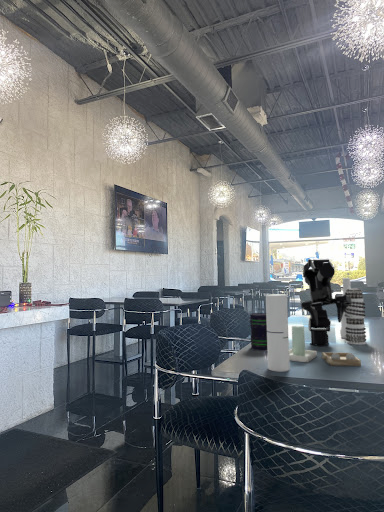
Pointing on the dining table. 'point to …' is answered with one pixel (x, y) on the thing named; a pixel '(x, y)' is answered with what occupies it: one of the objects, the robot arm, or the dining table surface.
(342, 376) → the dining table surface
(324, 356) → the wooden tray
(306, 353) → the white tray
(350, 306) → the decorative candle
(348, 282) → the bottle
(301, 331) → the sage green tall cylinder
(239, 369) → the dining table surface
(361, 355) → the dining table surface
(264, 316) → the storage jar
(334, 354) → the white ball
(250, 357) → the dining table surface
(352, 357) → the pebble
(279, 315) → the cylindrical container
